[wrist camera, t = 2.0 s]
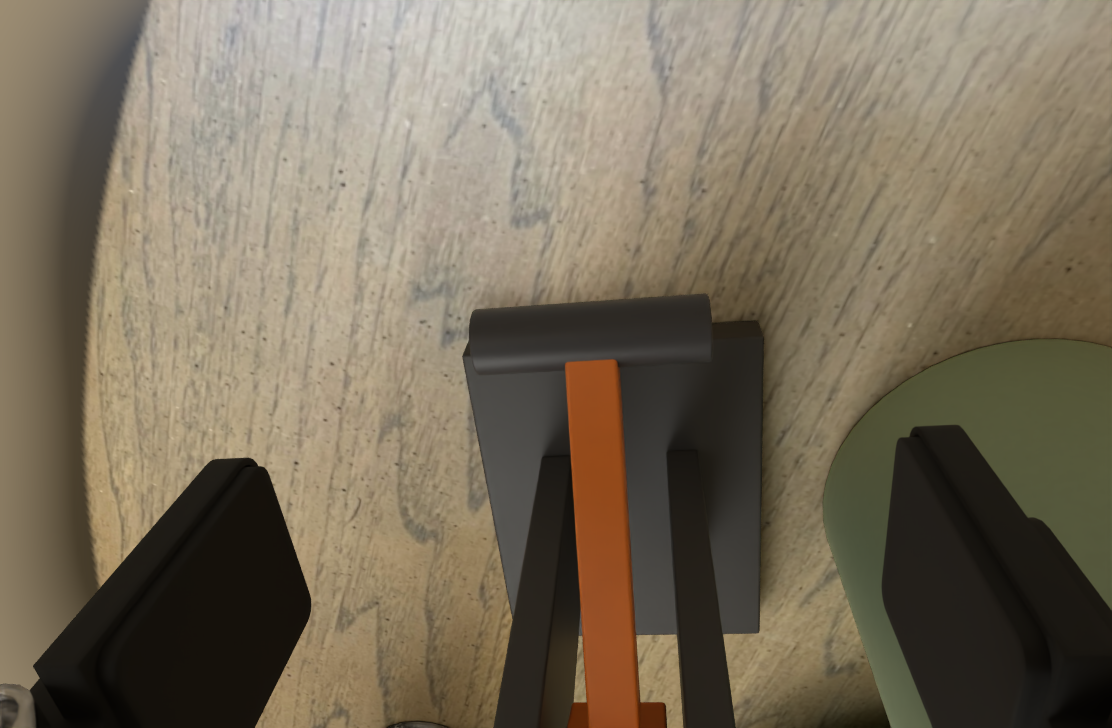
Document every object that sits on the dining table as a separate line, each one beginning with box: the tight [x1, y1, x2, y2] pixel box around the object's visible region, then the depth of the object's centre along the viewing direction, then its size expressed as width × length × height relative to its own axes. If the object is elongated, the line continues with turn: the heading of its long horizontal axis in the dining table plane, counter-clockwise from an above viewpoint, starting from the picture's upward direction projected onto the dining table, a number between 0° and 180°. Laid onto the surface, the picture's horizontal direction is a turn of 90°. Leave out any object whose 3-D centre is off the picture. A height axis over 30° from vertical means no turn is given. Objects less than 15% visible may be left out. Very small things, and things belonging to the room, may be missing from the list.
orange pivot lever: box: [469, 294, 713, 728], centre depth 16 cm, size 12×5×2 cm, turn 7°
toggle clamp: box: [462, 321, 764, 728], centre depth 21 cm, size 12×9×13 cm
